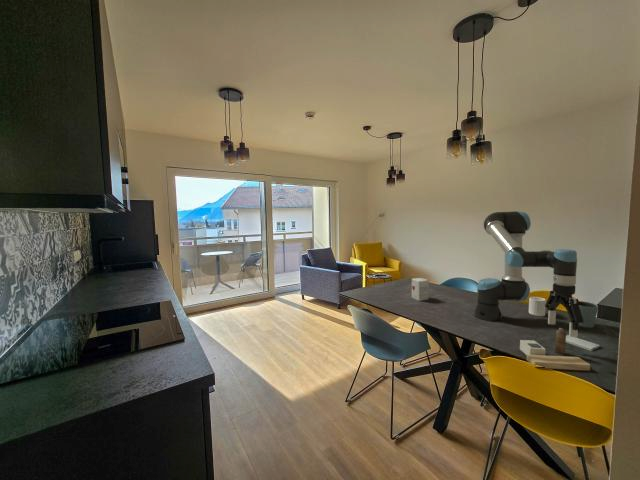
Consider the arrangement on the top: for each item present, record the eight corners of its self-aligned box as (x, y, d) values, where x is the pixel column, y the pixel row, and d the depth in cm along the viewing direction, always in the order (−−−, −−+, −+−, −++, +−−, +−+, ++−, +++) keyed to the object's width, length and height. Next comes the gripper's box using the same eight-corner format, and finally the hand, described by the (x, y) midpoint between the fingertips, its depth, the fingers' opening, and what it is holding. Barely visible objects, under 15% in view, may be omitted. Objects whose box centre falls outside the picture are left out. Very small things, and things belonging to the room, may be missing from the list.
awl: (553, 350, 126) (554, 326, 125) (561, 351, 126) (562, 327, 124) (558, 354, 123) (559, 330, 122) (566, 355, 122) (568, 330, 121)
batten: (526, 359, 119) (526, 354, 119) (578, 362, 116) (578, 357, 116) (534, 367, 113) (535, 361, 113) (589, 370, 110) (590, 364, 110)
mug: (551, 313, 170) (552, 298, 169) (540, 317, 165) (541, 301, 164) (537, 309, 177) (537, 295, 176) (525, 312, 172) (526, 297, 171)
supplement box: (411, 297, 210) (411, 278, 208) (420, 296, 212) (421, 277, 211) (418, 301, 201) (418, 281, 199) (428, 299, 204) (428, 280, 202)
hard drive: (600, 345, 128) (568, 334, 139) (591, 348, 125) (559, 337, 136) (600, 348, 128) (568, 337, 140) (591, 352, 125) (558, 340, 136)
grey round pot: (578, 319, 159) (579, 300, 158) (601, 326, 150) (602, 305, 149) (567, 322, 156) (569, 302, 155) (590, 329, 146) (592, 308, 145)
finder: (519, 349, 128) (520, 339, 128) (533, 349, 127) (534, 339, 127) (529, 357, 120) (530, 347, 120) (545, 358, 119) (545, 348, 119)
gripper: (537, 277, 134) (535, 319, 136) (575, 291, 109) (573, 342, 111) (554, 277, 133) (552, 319, 134) (597, 291, 108) (594, 342, 110)
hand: (561, 330), depth 123 cm, fingers open, 13 cm apart
